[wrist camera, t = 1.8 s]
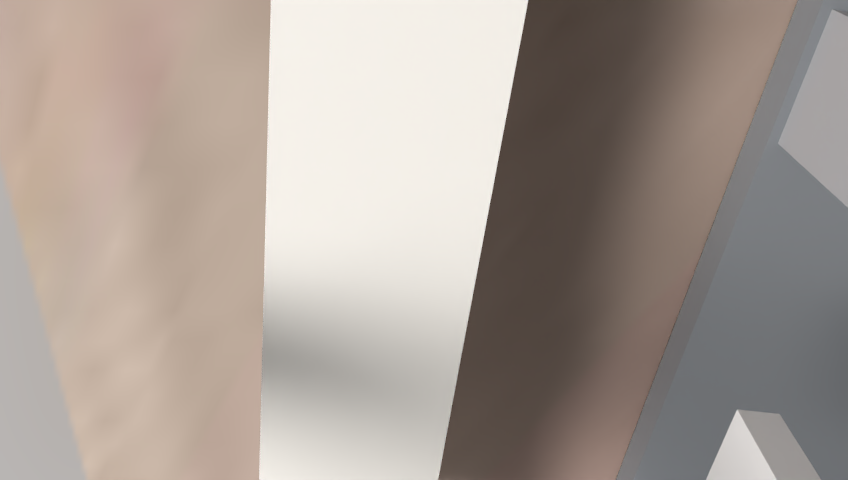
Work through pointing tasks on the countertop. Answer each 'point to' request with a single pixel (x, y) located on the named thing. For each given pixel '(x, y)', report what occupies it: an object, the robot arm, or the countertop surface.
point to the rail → (375, 225)
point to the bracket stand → (768, 277)
